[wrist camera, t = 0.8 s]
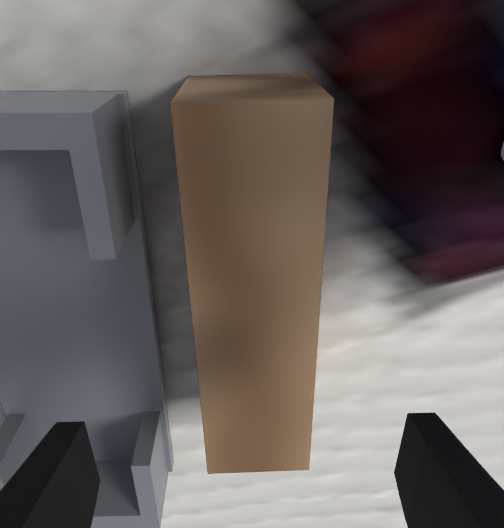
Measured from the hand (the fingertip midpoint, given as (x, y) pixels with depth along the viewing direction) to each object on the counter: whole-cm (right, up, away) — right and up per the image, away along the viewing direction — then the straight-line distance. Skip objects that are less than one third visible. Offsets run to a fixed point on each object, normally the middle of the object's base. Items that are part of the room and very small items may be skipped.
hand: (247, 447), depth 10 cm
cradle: (-8, +2, +10) cm, 12 cm away
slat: (0, +5, +9) cm, 10 cm away
